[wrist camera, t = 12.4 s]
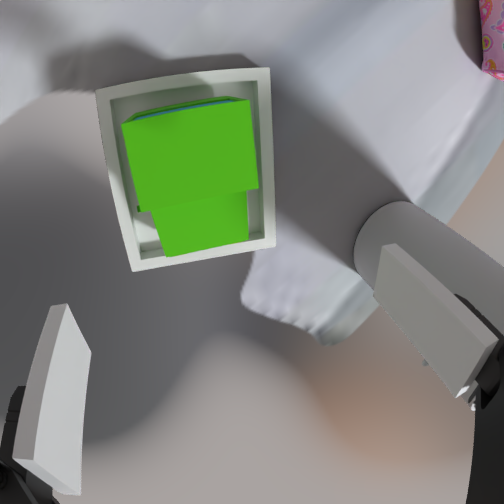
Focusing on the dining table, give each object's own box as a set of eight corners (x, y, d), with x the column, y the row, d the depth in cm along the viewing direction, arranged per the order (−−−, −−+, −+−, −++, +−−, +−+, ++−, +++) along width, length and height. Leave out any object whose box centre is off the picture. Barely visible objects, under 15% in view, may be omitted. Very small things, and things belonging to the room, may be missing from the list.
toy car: (155, 240, 33) (153, 299, 24) (125, 114, 26) (105, 128, 17) (250, 220, 34) (280, 271, 26) (235, 93, 27) (265, 98, 19)
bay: (100, 89, 25) (94, 90, 22) (261, 68, 27) (269, 67, 25) (133, 259, 34) (132, 271, 32) (269, 236, 37) (276, 246, 35)
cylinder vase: (334, 267, 42) (451, 418, 21) (381, 184, 37) (545, 301, 16) (392, 286, 47) (494, 403, 26) (433, 217, 42) (560, 317, 21)
